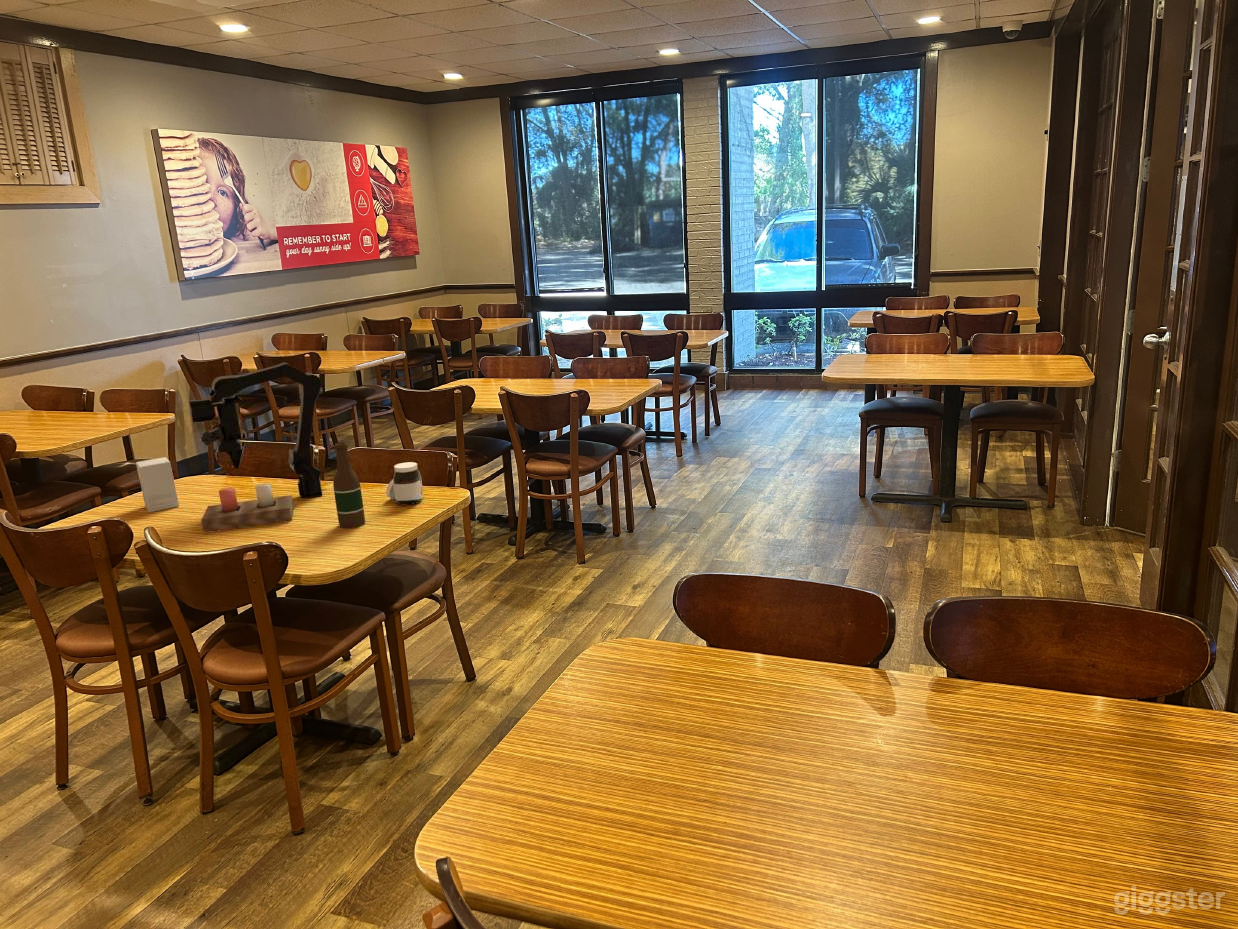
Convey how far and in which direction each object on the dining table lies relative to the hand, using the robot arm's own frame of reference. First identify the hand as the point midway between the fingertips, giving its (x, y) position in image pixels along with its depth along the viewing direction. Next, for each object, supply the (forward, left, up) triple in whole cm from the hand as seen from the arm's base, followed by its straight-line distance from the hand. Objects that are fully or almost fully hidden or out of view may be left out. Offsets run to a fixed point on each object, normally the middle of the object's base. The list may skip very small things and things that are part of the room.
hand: (237, 467), depth 273 cm
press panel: (-3, +14, -13) cm, 19 cm away
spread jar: (-48, +16, -13) cm, 52 cm away
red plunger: (+2, +14, -9) cm, 17 cm away
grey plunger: (-8, +14, -9) cm, 18 cm away
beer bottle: (-32, +33, -13) cm, 48 cm away
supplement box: (+26, -15, -13) cm, 33 cm away
